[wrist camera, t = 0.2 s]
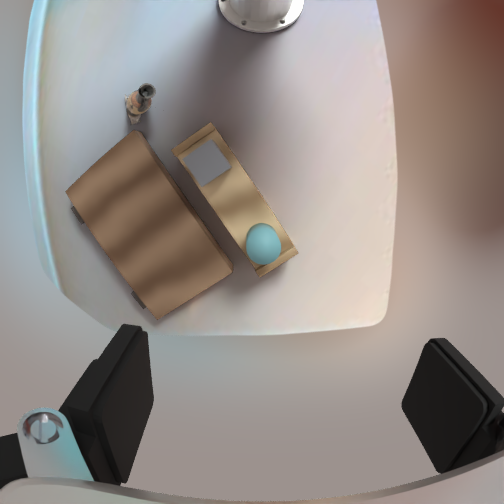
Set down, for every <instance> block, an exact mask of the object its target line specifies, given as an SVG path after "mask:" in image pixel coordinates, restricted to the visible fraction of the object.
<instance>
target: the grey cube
mask: <svg viewBox="0 0 504 504" xmlns="http://www.w3.org/2000/svg"><path fill="white" fill-rule="evenodd" d="M182 160H183V161H184V162H185V164H186V165H187V167H188V168H189V170H190V171H191V173H192V174H193V175H194V177H195V178H196V180H197V181H198V183H199V184H200V186H201V187H203V186H205V185H206V184H208V183H209V182H211V181H212V180H214V179H215V178H217V177H218V176H220V175H221V174H223V173H224V172H226V171H227V170H228V169H230V168H231V167H232V166H231V165H230V163H229V162H228V160H227V159H226V157H225V156H224V154H223V153H222V152H221V150H220V149H219V147H218V146H217V144H216V143H215V141H213V140H212V139H210V140H209V141H207V142H206V143H204V144H203V145H202V146H200V147H199V148H197V149H196V150H194V151H193V152H192V153H190V154H189V155H187V156H186V157H185V158H183V159H182Z"/></svg>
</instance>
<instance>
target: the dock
mask: <svg viewBox="0 0 504 504" xmlns="http://www.w3.org/2000/svg"><path fill="white" fill-rule="evenodd" d="M65 192H66V194H67V195H68V197H69V198H70V200H71V202H72V203H73V205H74V206H73V207H72V208H71V209H72V211H73V212H74V214H75V215H76V217H77V218H78V220H79V222H80V223H81V224H83V223H86V225H87V226H88V228H89V229H90V231H91V232H92V234H93V235H94V237H95V238H96V240H97V241H98V243H99V244H100V245H101V247H102V248H103V250H104V251H105V253H106V254H107V255H108V257H109V258H110V260H111V261H112V262H113V264H114V265H115V266H116V268H117V269H118V271H119V272H120V273H121V275H122V276H123V277H124V279H125V280H126V281H127V283H128V284H129V285H130V287H131V288H132V289H133V290H134V291H133V292H132V293H131V294H132V296H133V297H134V298H135V299H136V301H137V302H138V303H139V304H140V306H141V307H142V308H143V309H144V308H146V307H147V308H148V309H149V311H150V312H151V313H152V314H153V316H154V317H155V318H156V319H157V320H158V319H160V318H161V317H163V316H164V315H166V314H168V313H169V312H171V311H172V310H174V309H175V308H177V307H179V306H180V305H182V304H183V303H185V302H187V301H188V300H190V299H191V298H193V297H194V296H196V295H198V294H199V293H201V292H202V291H204V290H206V289H207V288H209V287H210V286H212V285H213V284H215V283H217V282H218V281H220V280H221V279H223V278H224V277H226V276H228V275H229V274H231V273H232V272H233V264H232V263H231V261H230V260H229V258H228V257H227V256H226V254H225V253H224V251H223V250H222V249H221V247H220V246H219V244H218V243H217V242H216V240H215V239H214V237H213V236H212V235H211V233H210V232H209V230H208V229H207V227H206V226H205V225H204V223H203V222H202V220H201V219H200V217H199V216H198V215H197V213H196V212H195V210H194V209H193V207H192V206H191V205H190V203H189V202H188V200H187V199H186V197H185V196H184V195H183V193H182V192H181V190H180V189H179V187H178V186H177V184H176V183H175V182H174V180H173V179H172V177H171V176H170V174H169V173H168V171H167V170H166V168H165V167H164V165H163V164H162V163H161V161H160V160H159V158H158V157H157V155H156V154H155V152H154V151H153V149H152V148H151V146H150V145H149V143H148V142H147V140H146V139H145V138H144V136H143V135H142V133H141V132H139V131H136V130H133V131H132V132H131V133H129V134H128V135H127V136H126V137H124V138H123V139H122V140H121V141H120V142H119V143H117V144H116V145H115V146H114V147H113V148H111V149H110V150H109V151H108V152H107V153H106V154H105V155H103V156H102V157H101V158H100V159H99V160H98V161H97V162H96V163H95V164H94V165H92V166H91V167H90V168H89V169H88V170H87V171H86V172H85V173H84V174H83V175H82V176H81V177H80V178H79V179H78V180H77V181H76V182H75V183H74V184H72V185H71V186H70V187H69V188H68V189H67V190H66V191H65Z"/></svg>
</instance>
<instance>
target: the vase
mask: <svg viewBox="0 0 504 504" xmlns="http://www.w3.org/2000/svg"><path fill="white" fill-rule="evenodd" d="M155 93H156V91H155V88H154V86H153V85H151V84H148V83H145V84H143V85H141V86H140V88H139V89H138V90H137V91H134V92H133V93H132V94H131V95H130V96H128V98H127V96H126V94H125V100H124V101H126V100H127V101H126V102H127V104H126V105H127V113H128V116H129V118H130V120H131V122H132V123H131V122H130V123H131V125H133V124H134V123H135V124H136V123H138V120H139V119H140V116H141V114H142V113H144V112H146V111H147V110H148V109H149V107H150V106H151V102H152V100H151V98H152V97H153V96H154V95H155ZM128 95H129V94H128ZM155 108H156V107H155ZM163 111H164V110H163ZM140 122H141V121H140ZM139 124H140V123H139Z"/></svg>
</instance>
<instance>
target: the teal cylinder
mask: <svg viewBox="0 0 504 504" xmlns="http://www.w3.org/2000/svg"><path fill="white" fill-rule="evenodd" d="M246 250H247V254H248V256H249V258H250V259H251V260H252V261H253V262H255V263H257V264H262V265H265V264H270V263H272V262H274V261H275V260H276V259H277V258H278V256H279V255H280V252H281V243H280V240H279V238H278V236H277V234H276V231H275V230H274V228H273V227H272V226H270V225H268V224H266V223H258V224H255V225H253V226H252V227H251V228H250V229H249V230H248V232H247V236H246Z"/></svg>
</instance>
